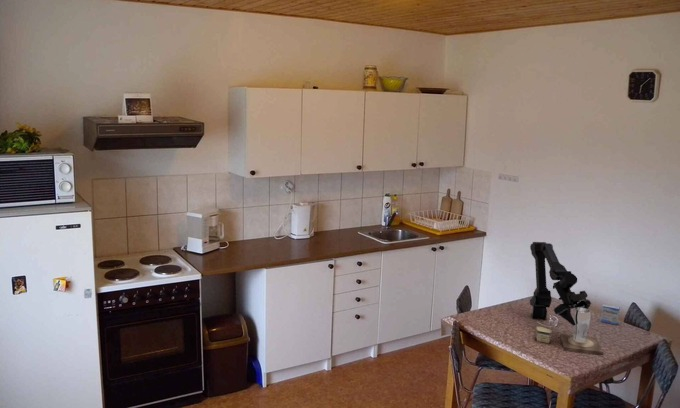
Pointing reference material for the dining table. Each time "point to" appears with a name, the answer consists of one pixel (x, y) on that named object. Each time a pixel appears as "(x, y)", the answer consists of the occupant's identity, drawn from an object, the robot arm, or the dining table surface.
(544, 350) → the dining table surface
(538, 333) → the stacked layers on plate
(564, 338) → the walnut board
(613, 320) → the medicine box
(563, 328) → the dining table surface
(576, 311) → the beer glass
